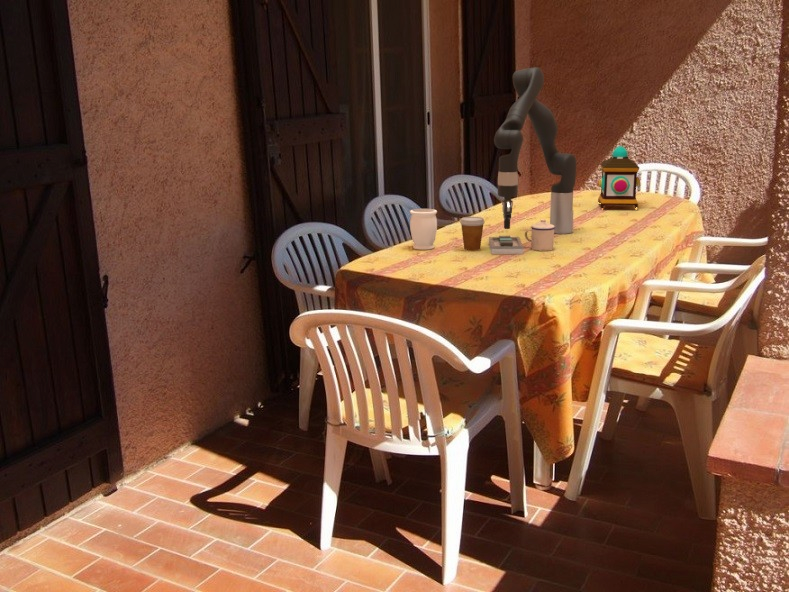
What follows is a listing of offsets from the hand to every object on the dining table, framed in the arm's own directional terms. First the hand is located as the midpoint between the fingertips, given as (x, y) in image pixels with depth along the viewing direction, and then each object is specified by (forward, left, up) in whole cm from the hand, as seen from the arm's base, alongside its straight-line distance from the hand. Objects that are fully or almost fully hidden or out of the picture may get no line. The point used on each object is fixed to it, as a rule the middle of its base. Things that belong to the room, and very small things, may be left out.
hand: (506, 228), depth 337 cm
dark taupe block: (0, 0, -6) cm, 6 cm away
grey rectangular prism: (0, -10, -6) cm, 11 cm away
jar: (+32, -8, -9) cm, 34 cm away
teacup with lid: (-13, -6, -9) cm, 17 cm away
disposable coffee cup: (+13, -6, -9) cm, 17 cm away
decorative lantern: (-62, -100, -9) cm, 118 cm away
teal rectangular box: (0, -5, -6) cm, 7 cm away
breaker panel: (0, -5, -9) cm, 10 cm away
